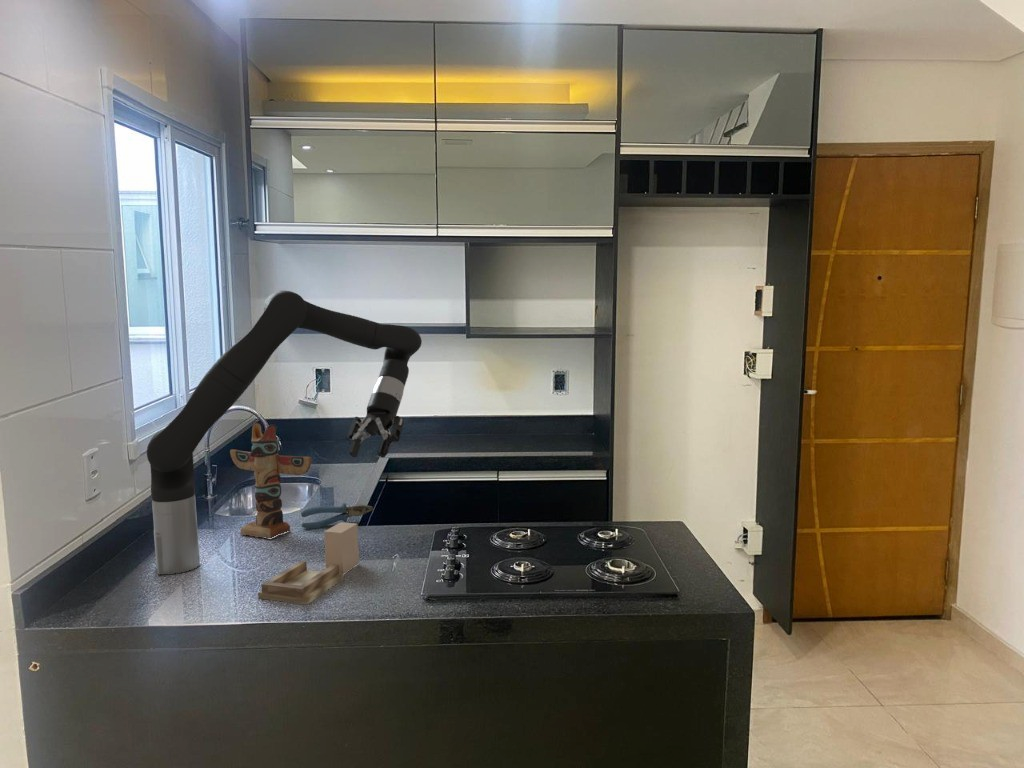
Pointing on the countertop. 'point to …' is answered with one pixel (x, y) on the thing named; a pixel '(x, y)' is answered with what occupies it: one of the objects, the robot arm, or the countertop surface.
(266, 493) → the totem pole
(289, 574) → the wooden rimmed tray
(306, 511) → the pliers
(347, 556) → the clay block
